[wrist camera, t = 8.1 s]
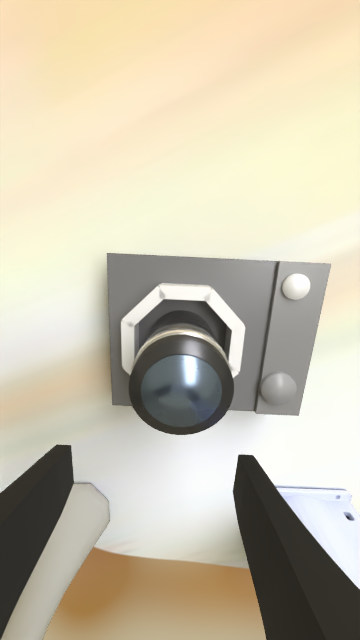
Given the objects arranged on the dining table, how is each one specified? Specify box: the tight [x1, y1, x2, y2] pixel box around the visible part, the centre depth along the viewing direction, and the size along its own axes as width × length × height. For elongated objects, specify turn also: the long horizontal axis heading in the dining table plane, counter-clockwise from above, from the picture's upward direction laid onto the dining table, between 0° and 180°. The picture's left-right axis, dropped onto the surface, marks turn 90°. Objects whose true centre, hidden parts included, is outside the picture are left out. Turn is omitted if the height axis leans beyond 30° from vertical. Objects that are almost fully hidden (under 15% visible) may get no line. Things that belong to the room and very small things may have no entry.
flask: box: [1, 484, 110, 640], centre depth 19 cm, size 7×7×10 cm
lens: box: [128, 310, 234, 435], centre depth 12 cm, size 5×5×6 cm
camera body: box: [107, 253, 331, 416], centre depth 16 cm, size 14×11×5 cm
